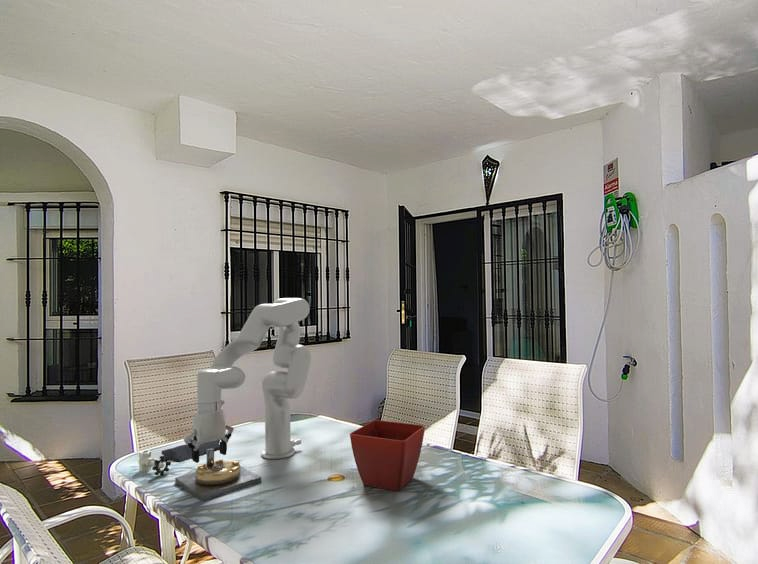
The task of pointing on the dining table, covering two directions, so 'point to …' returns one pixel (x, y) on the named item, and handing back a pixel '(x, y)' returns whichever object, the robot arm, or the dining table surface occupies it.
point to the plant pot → (387, 453)
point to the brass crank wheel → (217, 471)
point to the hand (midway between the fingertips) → (209, 457)
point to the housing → (212, 491)
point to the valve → (152, 463)
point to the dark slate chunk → (190, 450)
